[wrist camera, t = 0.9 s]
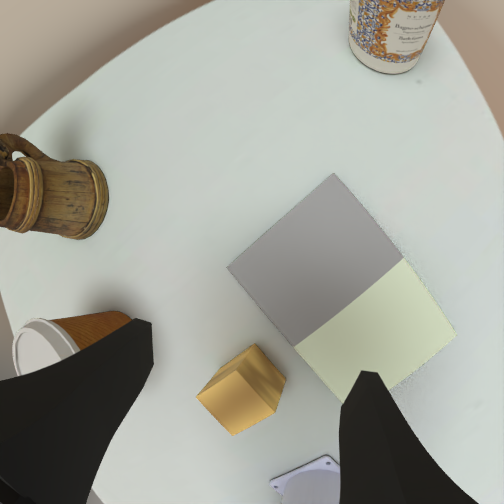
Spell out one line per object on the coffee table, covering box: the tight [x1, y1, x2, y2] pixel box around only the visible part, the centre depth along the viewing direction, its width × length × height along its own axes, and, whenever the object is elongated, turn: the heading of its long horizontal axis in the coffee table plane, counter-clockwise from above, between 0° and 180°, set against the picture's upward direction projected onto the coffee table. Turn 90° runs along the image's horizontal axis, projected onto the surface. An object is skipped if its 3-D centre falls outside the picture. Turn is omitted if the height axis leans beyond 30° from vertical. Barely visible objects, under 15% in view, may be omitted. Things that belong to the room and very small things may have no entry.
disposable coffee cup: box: [12, 311, 132, 376], centre depth 25 cm, size 10×10×12 cm
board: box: [226, 173, 457, 403], centre depth 25 cm, size 18×12×1 cm, turn 41°
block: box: [196, 343, 286, 436], centre depth 25 cm, size 4×4×6 cm
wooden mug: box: [0, 133, 108, 240], centre depth 23 cm, size 9×14×18 cm, turn 17°
